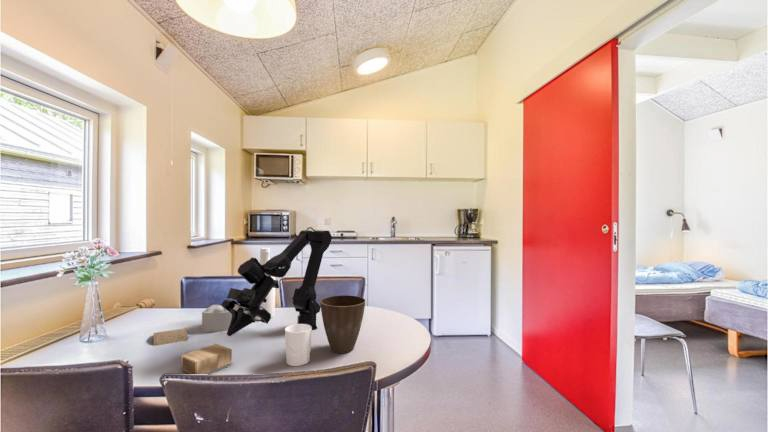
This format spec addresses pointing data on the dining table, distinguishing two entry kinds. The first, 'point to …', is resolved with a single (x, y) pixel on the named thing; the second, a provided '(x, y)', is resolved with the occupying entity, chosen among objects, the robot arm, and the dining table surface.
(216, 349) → the oak block
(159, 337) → the clay tablet
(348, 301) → the plant pot
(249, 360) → the dining table surface
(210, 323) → the lumpy-topped squat cylinder
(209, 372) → the felt mat
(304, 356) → the white cup
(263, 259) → the alcohol
